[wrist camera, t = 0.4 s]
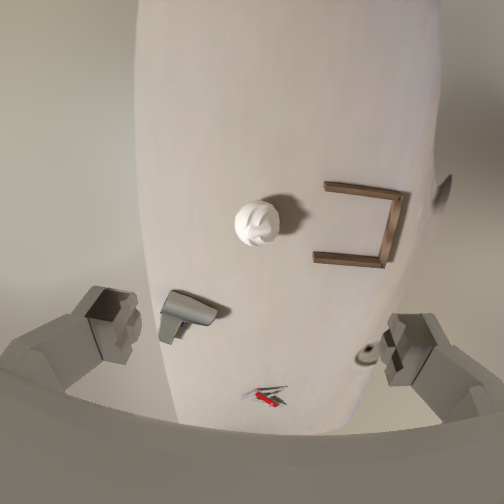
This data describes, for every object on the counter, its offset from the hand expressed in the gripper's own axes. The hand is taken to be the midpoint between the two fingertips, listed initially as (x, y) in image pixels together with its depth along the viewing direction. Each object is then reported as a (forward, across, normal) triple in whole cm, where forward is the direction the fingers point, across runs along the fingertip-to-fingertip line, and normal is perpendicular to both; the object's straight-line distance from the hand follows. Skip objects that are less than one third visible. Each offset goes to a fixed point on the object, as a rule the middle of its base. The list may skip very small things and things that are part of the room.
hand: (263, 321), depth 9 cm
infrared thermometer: (+47, +16, +42) cm, 65 cm away
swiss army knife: (+47, -5, +70) cm, 84 cm away
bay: (+46, -16, +15) cm, 51 cm away
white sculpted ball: (+46, +2, +15) cm, 48 cm away
